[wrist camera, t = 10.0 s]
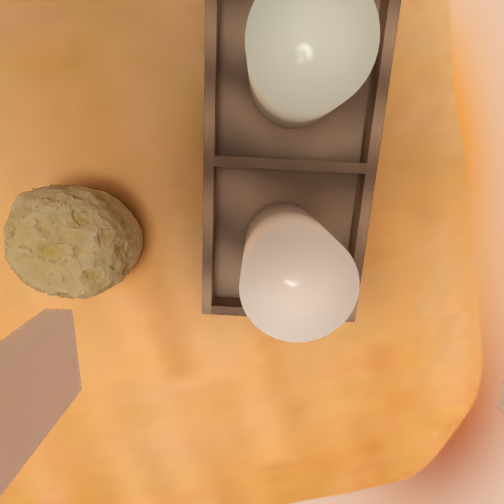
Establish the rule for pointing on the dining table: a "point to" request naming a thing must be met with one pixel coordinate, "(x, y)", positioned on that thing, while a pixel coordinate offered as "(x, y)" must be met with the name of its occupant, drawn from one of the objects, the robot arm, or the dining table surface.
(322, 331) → the white rounded tapered cylinder
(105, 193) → the decorative item
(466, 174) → the dining table surface
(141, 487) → the dining table surface
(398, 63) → the dining table surface
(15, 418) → the robot arm
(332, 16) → the white egg-shaped capsule
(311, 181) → the tray
